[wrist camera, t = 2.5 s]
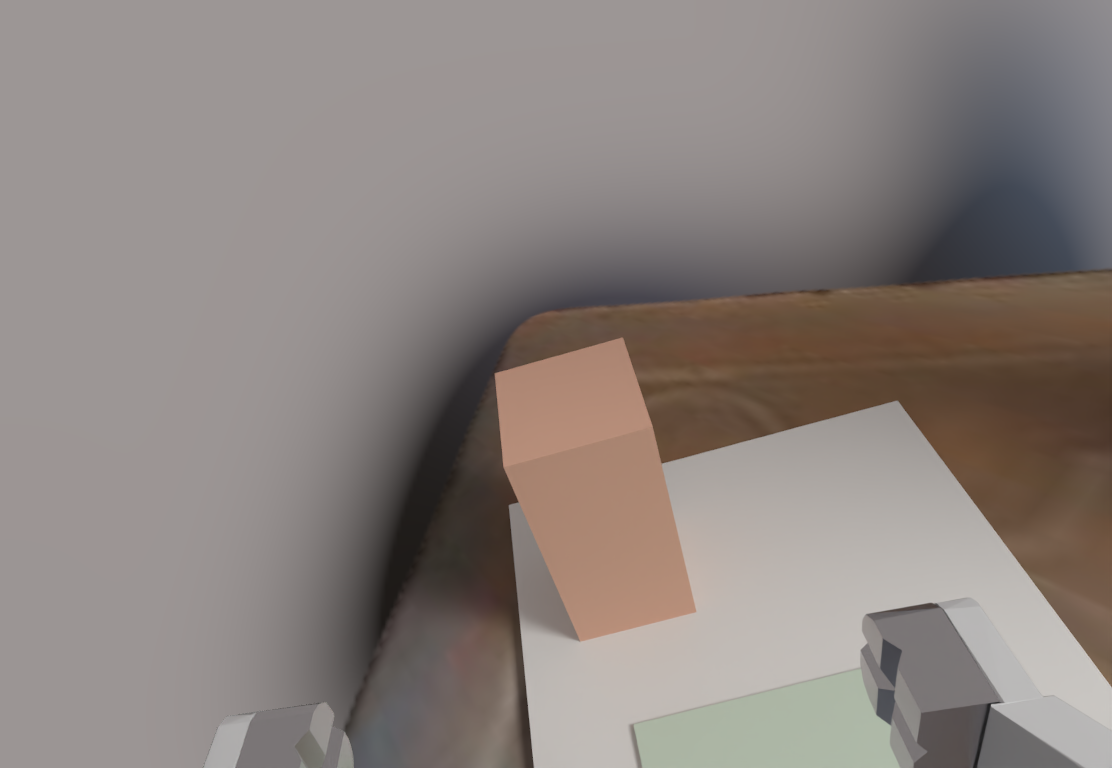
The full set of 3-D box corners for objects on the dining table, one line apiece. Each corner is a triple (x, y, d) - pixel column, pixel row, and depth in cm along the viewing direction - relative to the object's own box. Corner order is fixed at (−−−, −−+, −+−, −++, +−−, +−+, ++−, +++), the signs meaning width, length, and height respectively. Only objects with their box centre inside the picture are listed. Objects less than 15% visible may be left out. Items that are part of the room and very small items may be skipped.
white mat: (897, 407, 37) (897, 397, 36) (1549, 1294, 15) (1571, 1295, 15) (511, 511, 38) (507, 502, 38) (605, 1463, 16) (599, 1469, 16)
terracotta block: (667, 519, 35) (623, 337, 28) (696, 612, 31) (652, 426, 24) (564, 547, 35) (494, 373, 28) (580, 641, 31) (503, 467, 24)
